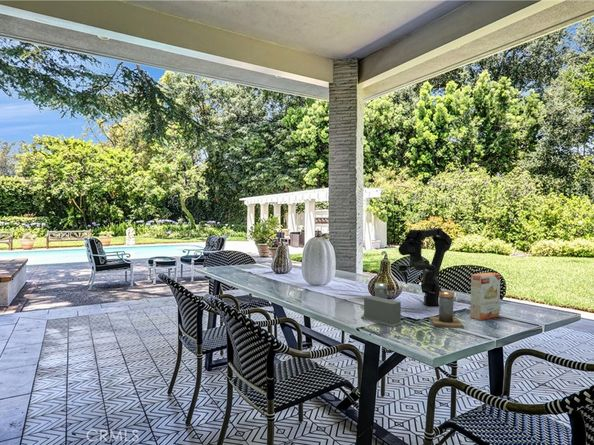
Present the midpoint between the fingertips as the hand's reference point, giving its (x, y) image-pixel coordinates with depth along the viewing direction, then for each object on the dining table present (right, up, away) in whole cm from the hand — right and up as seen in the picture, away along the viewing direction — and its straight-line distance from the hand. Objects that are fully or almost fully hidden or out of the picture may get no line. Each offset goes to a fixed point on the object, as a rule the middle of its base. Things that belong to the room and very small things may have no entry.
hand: (415, 284), depth 192 cm
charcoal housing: (-22, -14, -20) cm, 32 cm away
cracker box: (+29, -14, -14) cm, 35 cm away
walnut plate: (+6, -14, -24) cm, 28 cm away
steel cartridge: (-17, -13, +1) cm, 22 cm away
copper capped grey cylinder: (+6, -13, -24) cm, 27 cm away
